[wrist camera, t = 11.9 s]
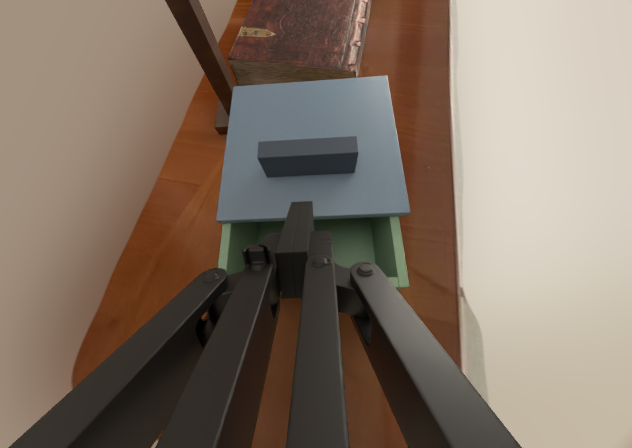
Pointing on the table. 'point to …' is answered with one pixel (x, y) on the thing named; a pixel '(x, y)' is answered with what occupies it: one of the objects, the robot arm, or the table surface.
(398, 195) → the lid
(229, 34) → the table surface
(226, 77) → the stand
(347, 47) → the hardback book
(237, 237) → the bin
